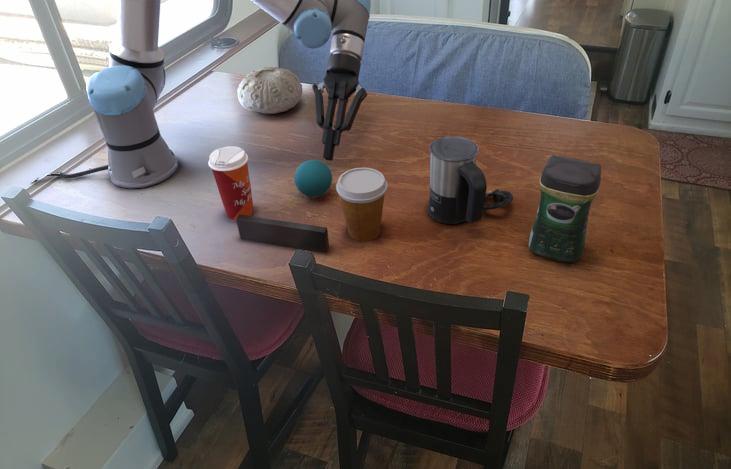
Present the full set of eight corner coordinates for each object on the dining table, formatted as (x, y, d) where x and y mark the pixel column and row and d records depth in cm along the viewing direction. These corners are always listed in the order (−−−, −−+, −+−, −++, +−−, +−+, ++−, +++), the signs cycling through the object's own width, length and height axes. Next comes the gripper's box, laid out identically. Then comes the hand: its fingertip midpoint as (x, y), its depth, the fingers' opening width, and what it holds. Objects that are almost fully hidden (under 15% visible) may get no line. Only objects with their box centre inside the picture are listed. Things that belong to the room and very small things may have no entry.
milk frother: (417, 211, 111) (419, 148, 102) (464, 180, 119) (470, 119, 110) (474, 241, 103) (481, 175, 94) (520, 205, 111) (531, 142, 102)
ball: (291, 202, 116) (286, 170, 111) (304, 181, 122) (300, 150, 117) (326, 207, 114) (323, 174, 109) (338, 186, 120) (335, 154, 115)
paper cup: (251, 225, 110) (238, 166, 101) (215, 222, 111) (200, 163, 102) (264, 203, 116) (253, 145, 107) (230, 200, 117) (216, 143, 108)
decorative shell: (276, 127, 143) (271, 91, 136) (226, 113, 150) (219, 79, 144) (316, 100, 154) (312, 66, 148) (268, 89, 162) (262, 56, 156)
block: (240, 239, 106) (235, 219, 103) (244, 234, 108) (239, 214, 104) (326, 253, 102) (324, 232, 99) (329, 247, 103) (327, 227, 100)
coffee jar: (585, 243, 101) (609, 157, 90) (577, 269, 96) (601, 181, 84) (533, 230, 105) (550, 145, 93) (523, 254, 99) (539, 168, 88)
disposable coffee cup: (360, 210, 112) (358, 161, 104) (397, 227, 107) (397, 176, 100) (330, 234, 106) (324, 183, 99) (367, 253, 102) (364, 200, 94)
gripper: (313, 49, 122) (295, 151, 120) (369, 53, 119) (351, 157, 117) (323, 64, 129) (306, 159, 127) (375, 67, 126) (359, 166, 124)
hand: (327, 158), depth 122 cm, fingers closed
